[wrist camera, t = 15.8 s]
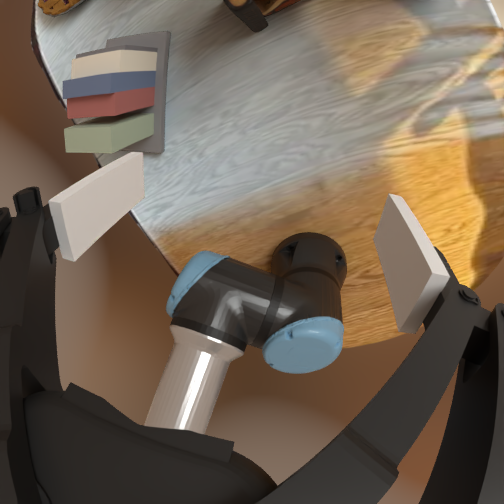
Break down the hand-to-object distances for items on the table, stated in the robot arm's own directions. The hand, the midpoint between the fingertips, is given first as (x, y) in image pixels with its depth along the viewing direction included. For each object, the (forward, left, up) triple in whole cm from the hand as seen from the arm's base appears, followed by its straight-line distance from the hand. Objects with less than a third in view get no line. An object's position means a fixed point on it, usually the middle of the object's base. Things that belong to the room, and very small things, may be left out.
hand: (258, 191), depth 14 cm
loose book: (-4, +29, -33) cm, 44 cm away
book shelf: (+2, +29, -35) cm, 45 cm away
